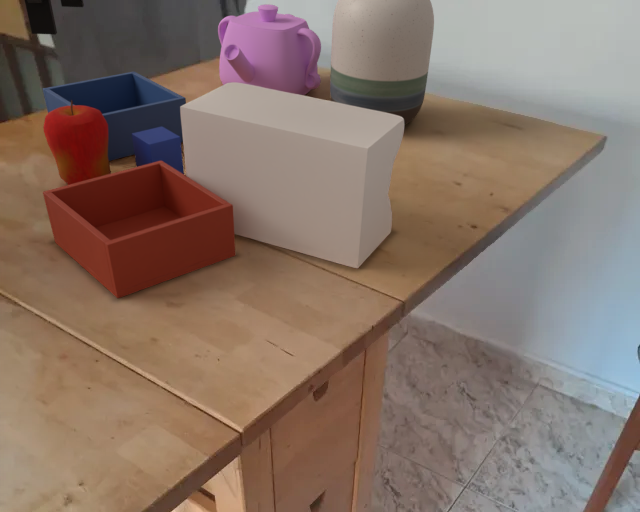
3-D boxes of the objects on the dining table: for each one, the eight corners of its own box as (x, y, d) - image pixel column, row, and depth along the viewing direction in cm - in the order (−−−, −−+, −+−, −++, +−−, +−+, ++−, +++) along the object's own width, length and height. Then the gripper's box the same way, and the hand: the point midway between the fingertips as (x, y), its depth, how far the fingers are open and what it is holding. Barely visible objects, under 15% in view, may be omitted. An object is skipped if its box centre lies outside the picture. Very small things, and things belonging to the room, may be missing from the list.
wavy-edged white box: (409, 212, 98) (424, 102, 88) (357, 268, 86) (367, 149, 76) (258, 174, 106) (255, 68, 95) (190, 221, 94) (179, 106, 83)
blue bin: (52, 131, 116) (42, 88, 111) (139, 112, 124) (134, 71, 119) (98, 163, 107) (89, 118, 102) (189, 140, 115) (185, 97, 110)
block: (138, 181, 102) (131, 133, 98) (167, 173, 105) (162, 126, 100) (155, 193, 100) (149, 144, 95) (185, 184, 102) (180, 136, 97)
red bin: (55, 242, 88) (42, 191, 84) (167, 208, 96) (161, 160, 92) (117, 298, 79) (107, 245, 75) (235, 255, 87) (233, 204, 83)
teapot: (306, 73, 144) (308, -7, 134) (328, 106, 129) (332, 20, 119) (215, 75, 141) (210, -6, 131) (227, 110, 126) (222, 22, 116)
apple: (113, 169, 105) (99, 87, 97) (121, 192, 99) (106, 107, 91) (54, 175, 103) (35, 92, 95) (59, 199, 97) (39, 112, 89)
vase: (310, 113, 126) (314, -43, 110) (383, 99, 134) (397, -50, 117) (364, 143, 116) (378, -23, 100) (440, 127, 124) (464, -31, 107)
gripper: (13, -212, 62) (64, 47, 77) (79, -212, 80) (110, -3, 95) (-71, -216, 62) (-4, 45, 76) (14, -216, 80) (55, -5, 94)
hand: (59, 19), depth 86 cm, fingers open, 13 cm apart
